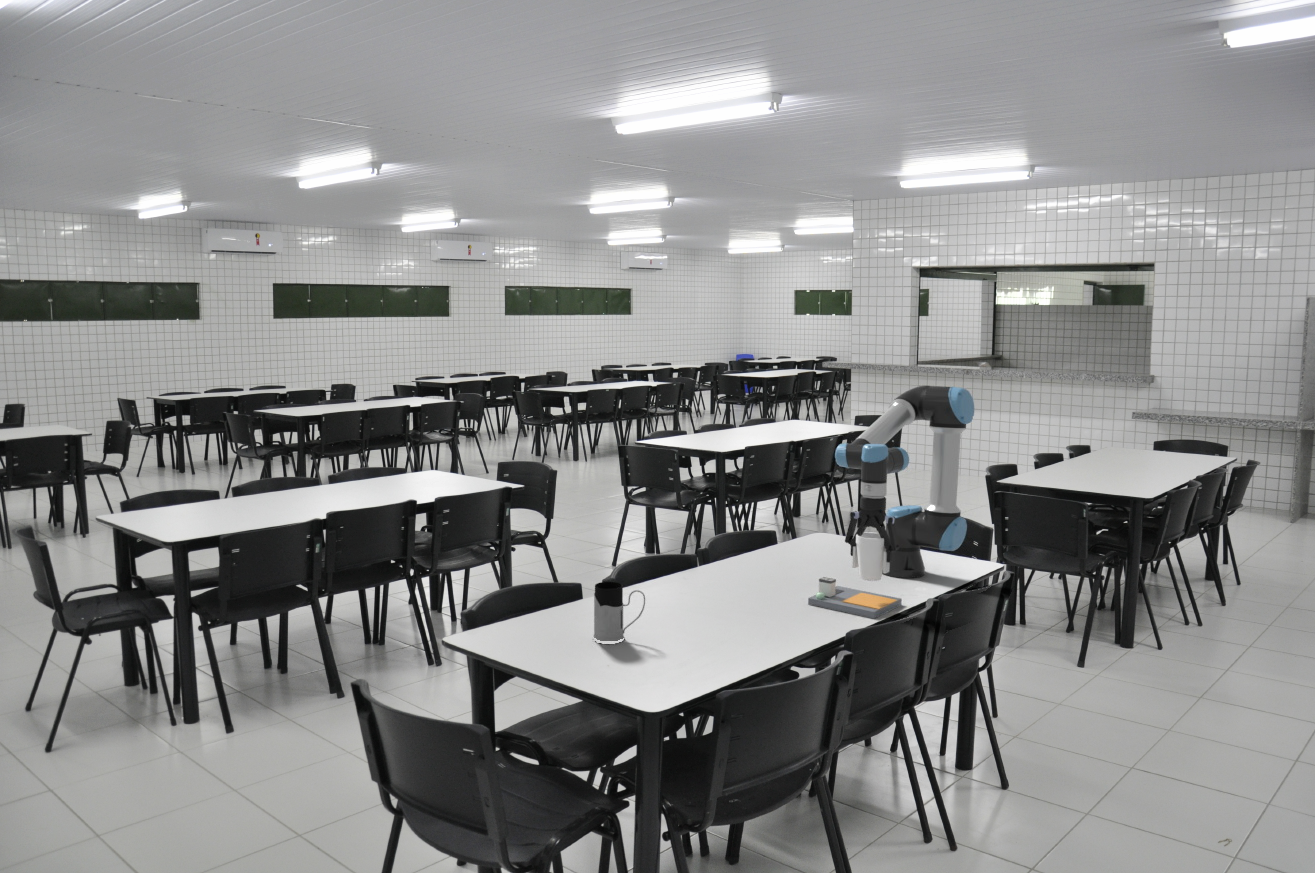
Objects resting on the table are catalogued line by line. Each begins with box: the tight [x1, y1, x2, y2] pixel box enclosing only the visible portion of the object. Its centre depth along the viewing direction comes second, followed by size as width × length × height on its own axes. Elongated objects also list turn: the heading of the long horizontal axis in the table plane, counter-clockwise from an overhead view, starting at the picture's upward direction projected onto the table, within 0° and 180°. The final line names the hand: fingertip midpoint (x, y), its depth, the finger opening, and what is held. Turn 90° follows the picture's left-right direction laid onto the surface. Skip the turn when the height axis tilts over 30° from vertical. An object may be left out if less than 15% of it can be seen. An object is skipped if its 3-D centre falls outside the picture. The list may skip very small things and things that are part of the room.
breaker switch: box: [818, 576, 837, 597], centre depth 297 cm, size 3×4×5 cm
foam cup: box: [855, 531, 886, 582], centre depth 289 cm, size 10×9×13 cm
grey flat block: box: [807, 585, 903, 620], centre depth 294 cm, size 18×22×4 cm
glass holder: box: [593, 581, 646, 641], centre depth 260 cm, size 9×14×15 cm, turn 88°
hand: (870, 569), depth 290 cm, fingers closed on foam cup, 9 cm apart
